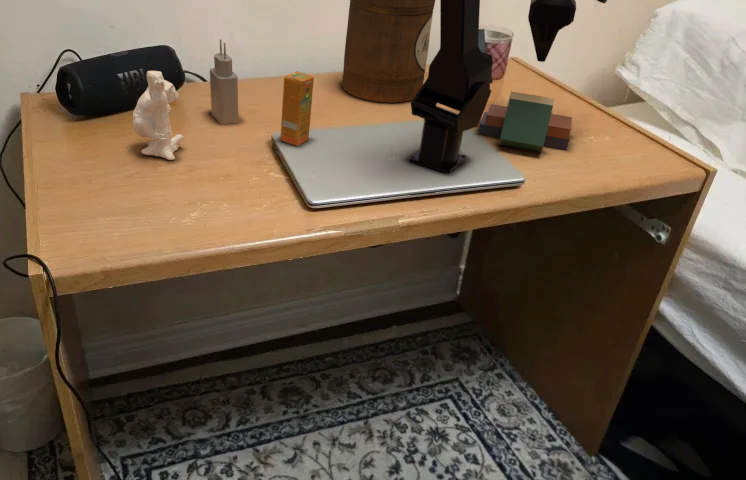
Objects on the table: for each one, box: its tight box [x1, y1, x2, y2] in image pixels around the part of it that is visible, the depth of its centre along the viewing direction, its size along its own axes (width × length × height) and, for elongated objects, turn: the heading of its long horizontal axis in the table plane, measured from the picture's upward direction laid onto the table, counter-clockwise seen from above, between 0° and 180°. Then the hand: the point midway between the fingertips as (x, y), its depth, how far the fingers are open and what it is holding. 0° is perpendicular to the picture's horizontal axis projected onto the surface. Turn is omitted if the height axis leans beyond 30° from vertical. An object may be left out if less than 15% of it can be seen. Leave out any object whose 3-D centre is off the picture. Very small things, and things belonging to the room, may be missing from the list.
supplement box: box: [280, 70, 315, 147], centre depth 97 cm, size 3×3×10 cm
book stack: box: [477, 103, 573, 151], centre depth 107 cm, size 6×14×4 cm, turn 72°
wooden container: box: [341, 0, 436, 104], centre depth 116 cm, size 15×15×22 cm
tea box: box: [498, 91, 556, 153], centre depth 102 cm, size 7×6×8 cm
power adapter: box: [209, 38, 239, 125], centre depth 103 cm, size 3×5×12 cm, turn 26°
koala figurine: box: [132, 70, 184, 161], centre depth 90 cm, size 8×7×12 cm
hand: (541, 51), depth 104 cm, fingers open, 9 cm apart
